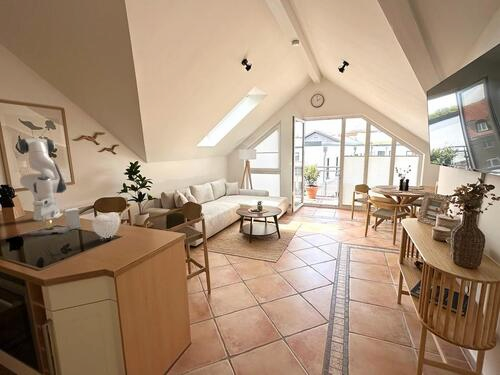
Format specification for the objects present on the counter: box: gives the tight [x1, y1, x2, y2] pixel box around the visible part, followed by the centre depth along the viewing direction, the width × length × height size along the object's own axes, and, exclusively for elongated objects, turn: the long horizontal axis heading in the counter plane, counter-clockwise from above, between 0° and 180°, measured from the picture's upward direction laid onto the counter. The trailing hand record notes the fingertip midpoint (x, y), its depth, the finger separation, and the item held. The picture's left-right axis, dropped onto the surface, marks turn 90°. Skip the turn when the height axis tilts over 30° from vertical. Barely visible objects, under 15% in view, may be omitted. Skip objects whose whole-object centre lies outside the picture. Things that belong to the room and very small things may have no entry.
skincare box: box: [64, 207, 81, 231], centre depth 183 cm, size 8×6×15 cm
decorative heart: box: [91, 211, 121, 240], centre depth 161 cm, size 18×11×17 cm, turn 157°
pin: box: [45, 219, 53, 230], centre depth 173 cm, size 3×3×9 cm
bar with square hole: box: [28, 226, 70, 236], centre depth 173 cm, size 7×22×3 cm, turn 99°
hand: (48, 218), depth 173 cm, fingers open, 8 cm apart
